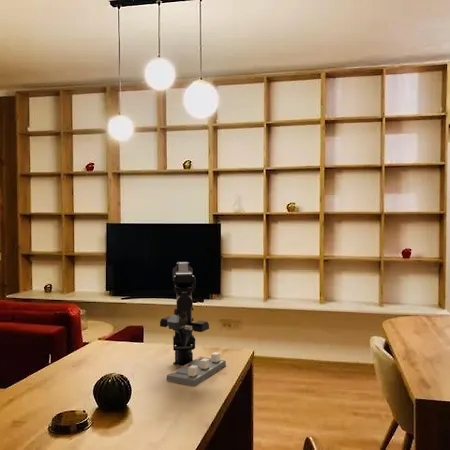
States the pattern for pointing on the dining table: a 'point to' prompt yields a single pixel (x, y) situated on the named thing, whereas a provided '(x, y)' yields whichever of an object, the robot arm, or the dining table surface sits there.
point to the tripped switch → (192, 370)
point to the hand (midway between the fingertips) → (184, 346)
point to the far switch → (215, 357)
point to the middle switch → (204, 363)
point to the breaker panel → (184, 378)
